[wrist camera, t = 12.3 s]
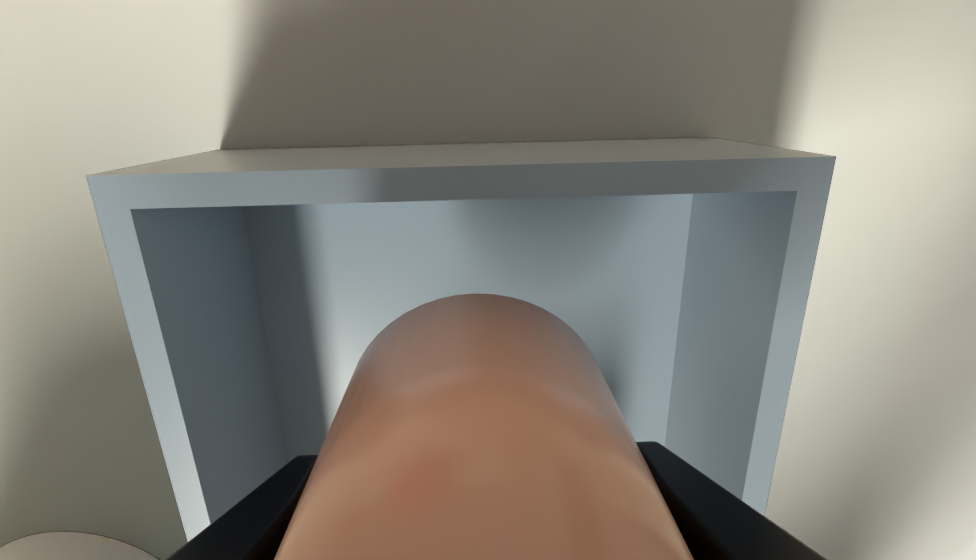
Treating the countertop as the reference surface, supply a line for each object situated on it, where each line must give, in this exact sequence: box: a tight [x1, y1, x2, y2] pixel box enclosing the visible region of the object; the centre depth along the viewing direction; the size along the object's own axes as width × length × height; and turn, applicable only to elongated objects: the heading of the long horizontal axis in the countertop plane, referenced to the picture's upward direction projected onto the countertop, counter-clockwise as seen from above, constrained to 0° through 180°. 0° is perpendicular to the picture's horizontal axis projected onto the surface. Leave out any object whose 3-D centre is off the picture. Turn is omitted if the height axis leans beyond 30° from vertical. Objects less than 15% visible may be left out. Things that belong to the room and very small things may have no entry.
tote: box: [86, 138, 836, 542], centre depth 14 cm, size 17×13×5 cm
